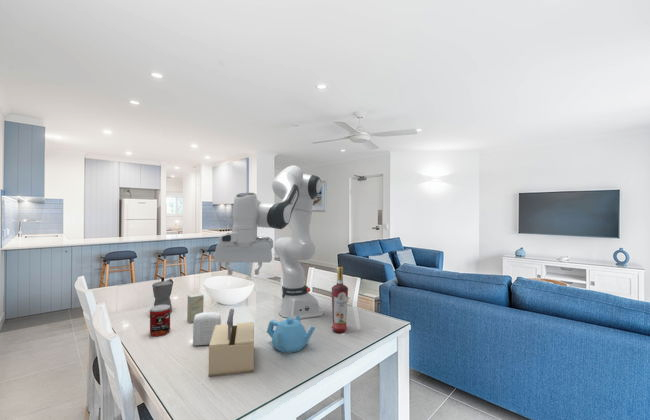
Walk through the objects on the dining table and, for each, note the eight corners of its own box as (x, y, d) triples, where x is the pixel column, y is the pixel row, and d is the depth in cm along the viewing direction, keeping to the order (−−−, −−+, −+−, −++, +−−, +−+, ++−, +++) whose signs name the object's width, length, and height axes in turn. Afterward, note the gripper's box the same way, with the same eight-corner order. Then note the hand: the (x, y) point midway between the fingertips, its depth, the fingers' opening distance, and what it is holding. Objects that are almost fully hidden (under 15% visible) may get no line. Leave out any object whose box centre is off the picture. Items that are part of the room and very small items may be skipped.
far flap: (234, 325, 114) (234, 306, 114) (231, 345, 97) (231, 323, 97) (215, 326, 113) (215, 307, 113) (209, 347, 96) (209, 324, 96)
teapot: (300, 334, 128) (300, 309, 128) (316, 349, 115) (316, 321, 115) (265, 342, 121) (265, 315, 121) (278, 358, 108) (278, 328, 108)
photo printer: (221, 340, 122) (221, 309, 122) (219, 344, 118) (220, 313, 118) (194, 342, 120) (194, 311, 120) (191, 347, 116) (192, 315, 116)
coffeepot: (163, 317, 146) (163, 280, 146) (145, 317, 147) (145, 280, 147) (180, 307, 162) (181, 274, 162) (163, 306, 162) (164, 273, 162)
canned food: (149, 338, 123) (149, 311, 123) (150, 331, 130) (150, 305, 130) (170, 334, 127) (170, 308, 127) (170, 328, 134) (170, 303, 134)
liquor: (333, 334, 128) (334, 269, 128) (329, 328, 135) (329, 266, 135) (350, 333, 130) (350, 268, 130) (344, 326, 137) (345, 265, 137)
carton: (253, 346, 116) (253, 321, 116) (253, 371, 99) (253, 341, 99) (215, 350, 113) (215, 324, 113) (208, 376, 95) (208, 345, 95)
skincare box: (190, 323, 139) (190, 297, 139) (186, 320, 142) (187, 295, 142) (203, 320, 143) (204, 294, 143) (200, 317, 147) (200, 292, 147)
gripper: (273, 236, 114) (272, 272, 114) (217, 235, 111) (216, 273, 111) (273, 237, 108) (272, 276, 108) (214, 237, 105) (212, 276, 105)
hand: (243, 274), depth 109 cm, fingers open, 8 cm apart
